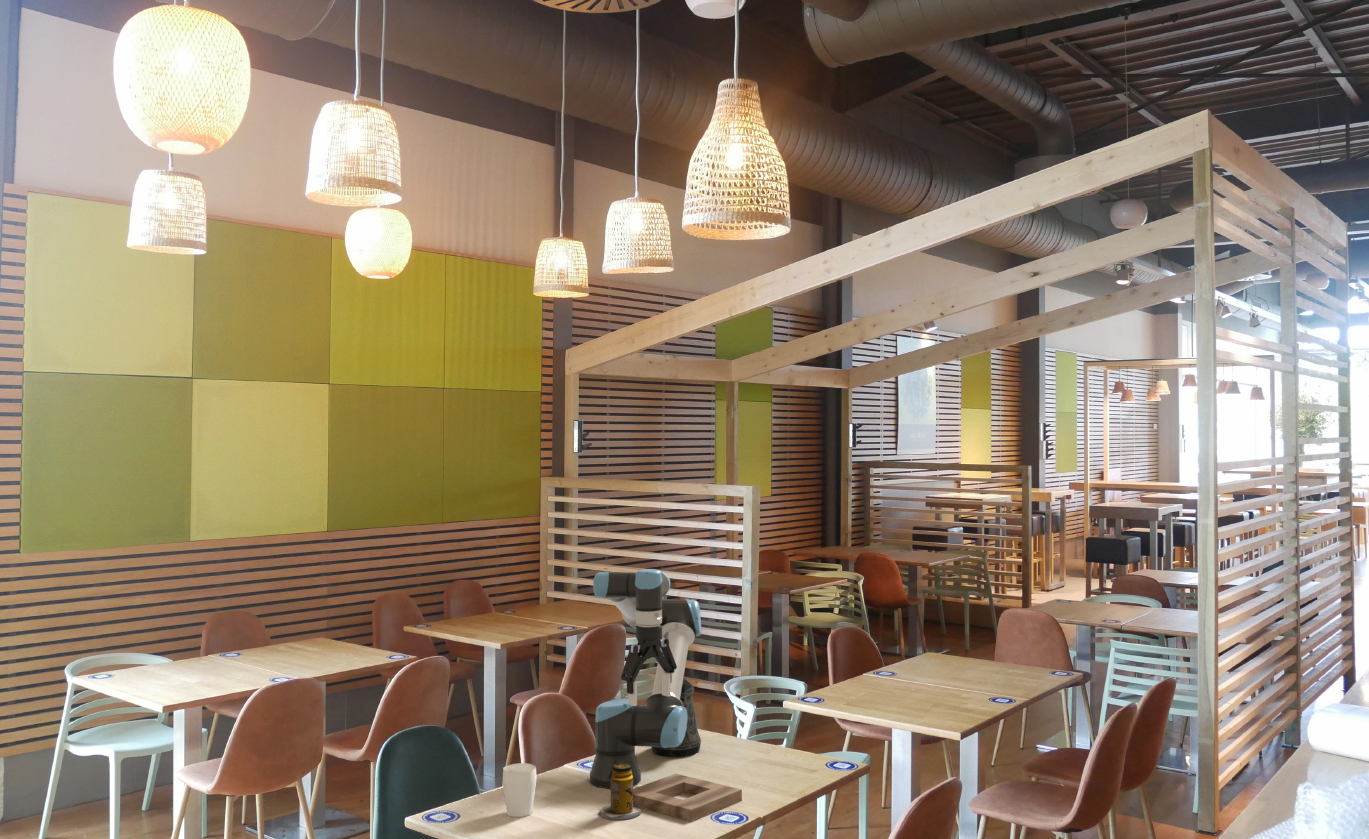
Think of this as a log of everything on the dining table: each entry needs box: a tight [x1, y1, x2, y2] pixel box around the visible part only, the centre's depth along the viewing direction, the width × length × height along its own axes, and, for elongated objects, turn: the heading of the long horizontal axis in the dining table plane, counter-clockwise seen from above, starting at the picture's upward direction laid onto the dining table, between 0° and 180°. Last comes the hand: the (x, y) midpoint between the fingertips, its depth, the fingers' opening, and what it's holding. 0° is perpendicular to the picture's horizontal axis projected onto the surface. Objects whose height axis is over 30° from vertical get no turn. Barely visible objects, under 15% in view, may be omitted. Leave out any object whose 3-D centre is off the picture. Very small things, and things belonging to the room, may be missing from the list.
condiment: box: [598, 763, 639, 818], centre depth 274 cm, size 7×8×12 cm
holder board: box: [633, 773, 743, 822], centre depth 283 cm, size 24×22×3 cm
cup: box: [502, 762, 538, 818], centre depth 275 cm, size 9×9×12 cm
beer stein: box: [651, 677, 702, 758], centre depth 335 cm, size 16×19×25 cm
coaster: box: [598, 804, 642, 821], centre depth 274 cm, size 11×11×1 cm
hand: (649, 700), depth 289 cm, fingers open, 13 cm apart
